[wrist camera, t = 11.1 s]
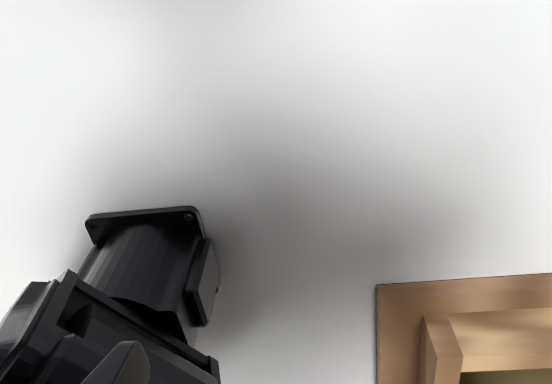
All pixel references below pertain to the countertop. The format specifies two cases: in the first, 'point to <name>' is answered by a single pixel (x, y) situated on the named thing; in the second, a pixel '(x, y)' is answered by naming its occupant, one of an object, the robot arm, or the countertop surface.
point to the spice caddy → (463, 328)
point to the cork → (508, 377)
